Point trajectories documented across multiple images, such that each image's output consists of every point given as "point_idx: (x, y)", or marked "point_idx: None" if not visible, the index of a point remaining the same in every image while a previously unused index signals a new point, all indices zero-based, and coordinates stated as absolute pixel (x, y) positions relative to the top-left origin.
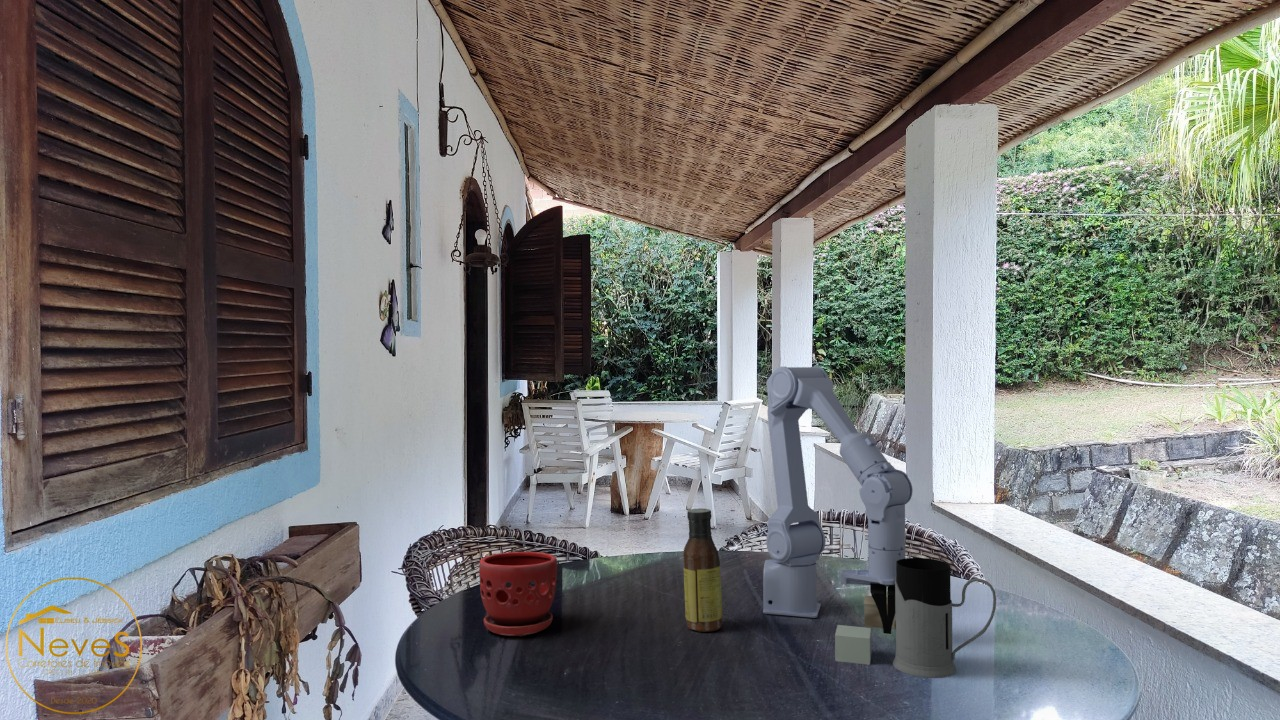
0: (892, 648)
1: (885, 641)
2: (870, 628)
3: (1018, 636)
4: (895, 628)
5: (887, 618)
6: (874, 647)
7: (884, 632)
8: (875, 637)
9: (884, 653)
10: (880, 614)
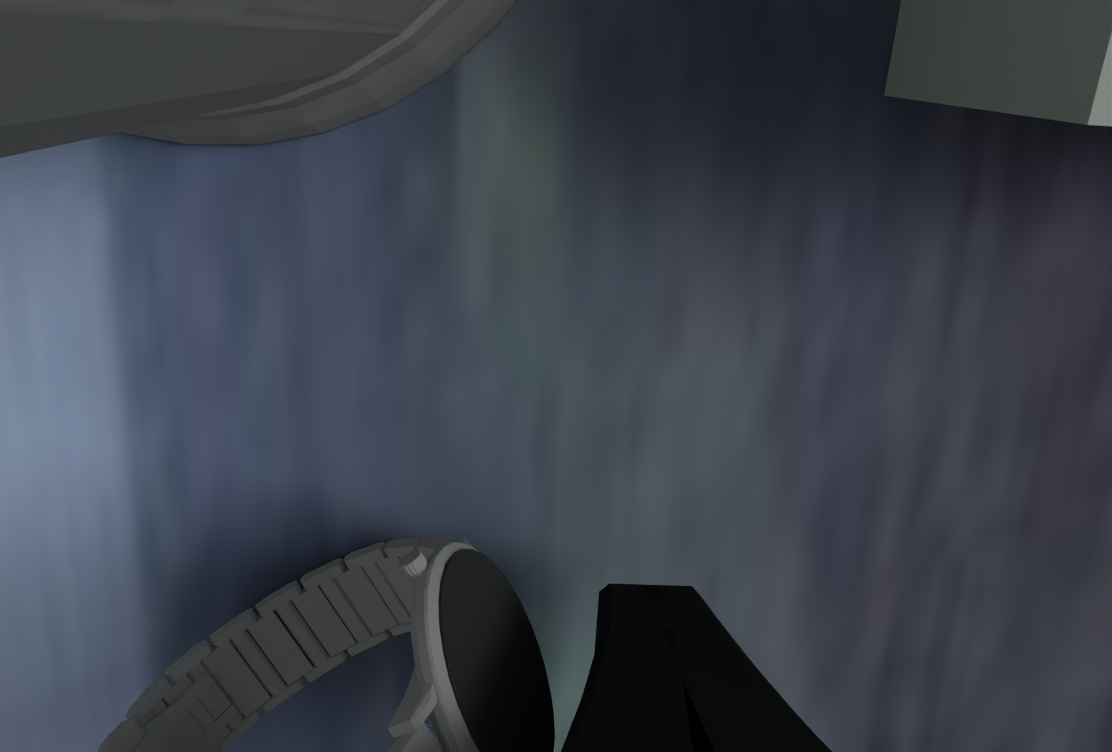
0: (590, 349)
1: (656, 563)
2: (1106, 87)
3: None
4: (542, 680)
5: (684, 706)
6: (810, 331)
7: (690, 588)
8: (756, 658)
9: (707, 131)
10: (825, 746)
